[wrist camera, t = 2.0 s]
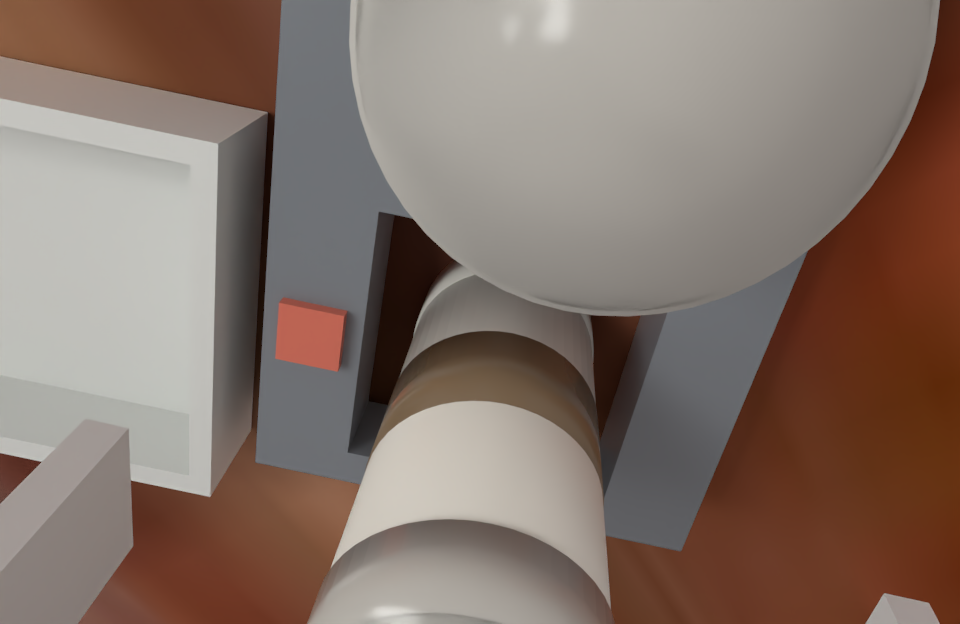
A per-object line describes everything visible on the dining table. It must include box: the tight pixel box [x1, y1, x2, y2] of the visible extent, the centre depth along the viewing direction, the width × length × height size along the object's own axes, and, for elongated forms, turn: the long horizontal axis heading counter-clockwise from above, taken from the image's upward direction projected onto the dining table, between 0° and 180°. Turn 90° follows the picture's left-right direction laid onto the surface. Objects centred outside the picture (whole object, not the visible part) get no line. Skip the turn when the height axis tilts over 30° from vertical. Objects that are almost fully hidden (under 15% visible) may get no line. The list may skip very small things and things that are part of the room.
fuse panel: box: [255, 0, 808, 551], centre depth 18 cm, size 12×18×3 cm, turn 169°
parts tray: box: [0, 56, 268, 497], centre depth 20 cm, size 12×10×3 cm
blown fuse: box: [307, 260, 615, 624], centre depth 16 cm, size 5×5×12 cm
